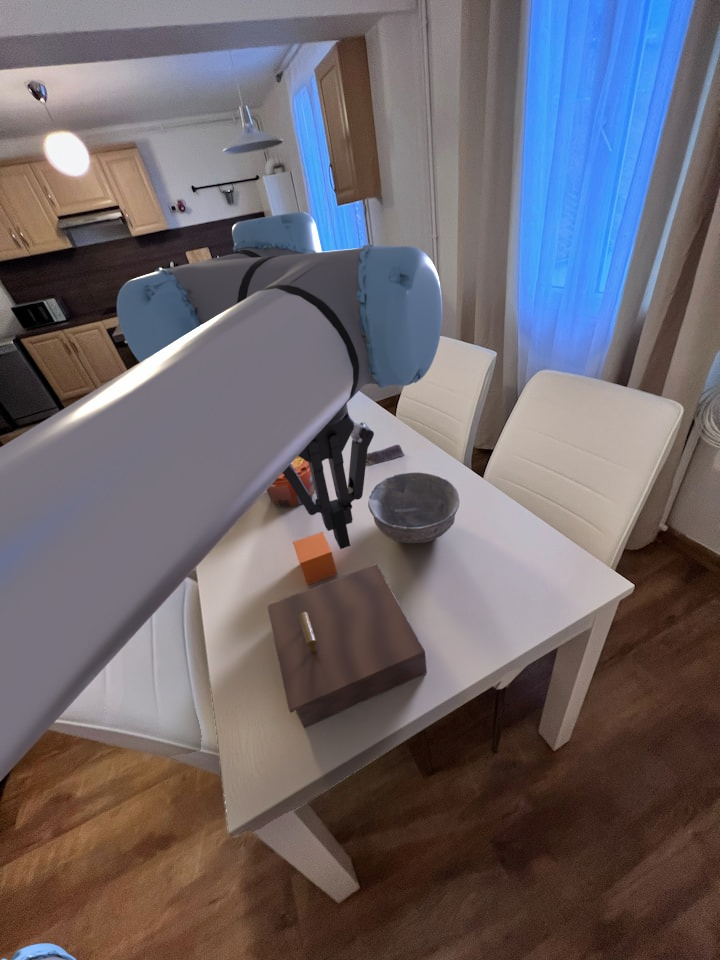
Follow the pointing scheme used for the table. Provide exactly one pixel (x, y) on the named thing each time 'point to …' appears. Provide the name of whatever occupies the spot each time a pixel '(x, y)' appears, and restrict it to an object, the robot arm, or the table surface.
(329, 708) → the box
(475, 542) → the table surface
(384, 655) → the lid
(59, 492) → the robot arm
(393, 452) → the artifact
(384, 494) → the bowl
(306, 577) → the cube
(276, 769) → the table surface
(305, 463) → the food container
